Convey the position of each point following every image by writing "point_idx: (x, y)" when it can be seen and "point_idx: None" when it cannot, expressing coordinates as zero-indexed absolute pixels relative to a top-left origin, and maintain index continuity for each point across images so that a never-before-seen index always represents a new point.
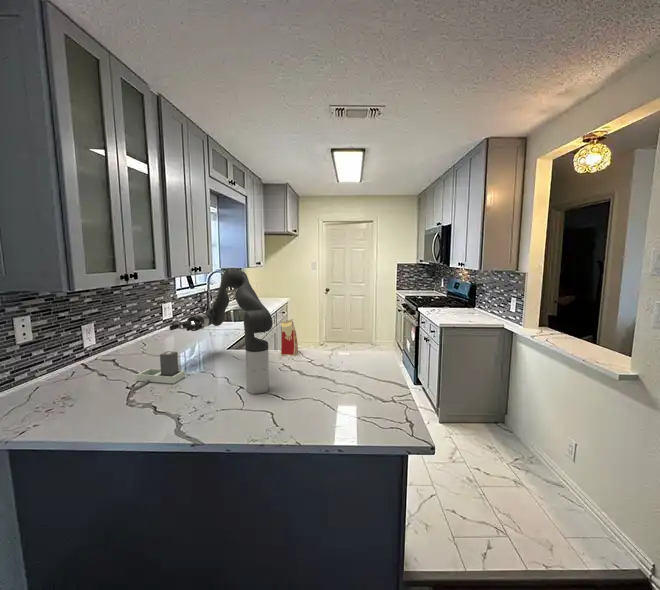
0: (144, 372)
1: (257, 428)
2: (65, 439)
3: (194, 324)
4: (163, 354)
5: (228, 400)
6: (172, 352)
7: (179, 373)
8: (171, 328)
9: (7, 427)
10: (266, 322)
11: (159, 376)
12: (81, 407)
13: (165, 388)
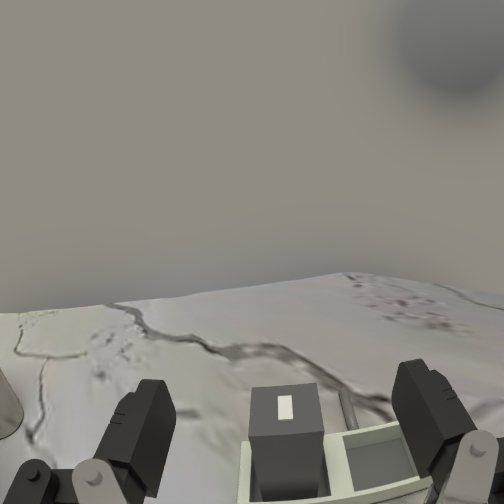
0: None
1: (42, 325)
2: (277, 283)
3: (76, 469)
4: (296, 387)
5: (64, 382)
6: (272, 422)
7: (241, 476)
8: (397, 390)
9: (386, 277)
10: None
11: None
12: (363, 320)
13: None
